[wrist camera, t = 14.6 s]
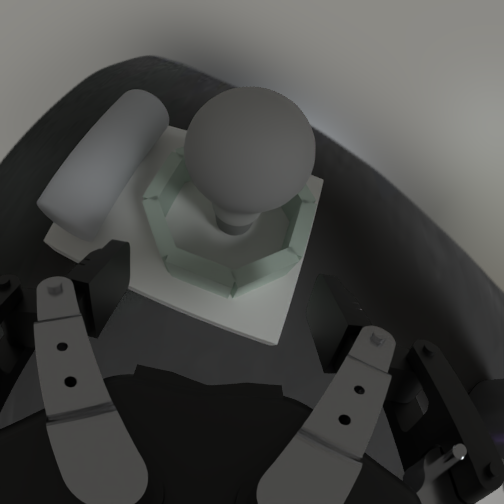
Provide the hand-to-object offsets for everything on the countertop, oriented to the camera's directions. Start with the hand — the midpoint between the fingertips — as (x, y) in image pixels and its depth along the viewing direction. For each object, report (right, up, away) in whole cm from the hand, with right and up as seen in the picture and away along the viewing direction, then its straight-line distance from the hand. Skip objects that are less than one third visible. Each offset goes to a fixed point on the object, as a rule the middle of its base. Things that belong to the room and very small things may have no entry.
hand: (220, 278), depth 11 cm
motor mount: (-4, +4, +10) cm, 12 cm away
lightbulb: (0, +3, +9) cm, 9 cm away
